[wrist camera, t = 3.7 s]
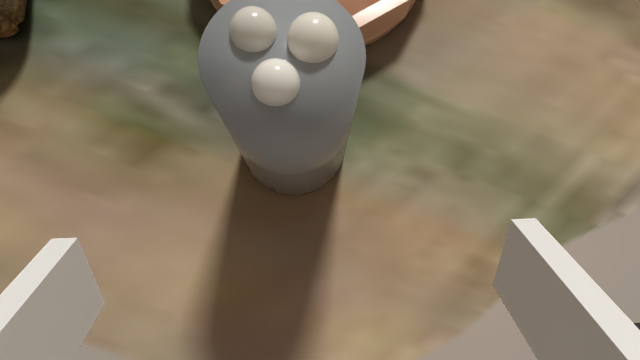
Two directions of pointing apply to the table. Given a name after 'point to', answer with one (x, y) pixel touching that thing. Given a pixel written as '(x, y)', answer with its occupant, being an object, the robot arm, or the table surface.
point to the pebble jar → (285, 86)
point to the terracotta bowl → (367, 15)
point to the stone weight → (11, 16)
